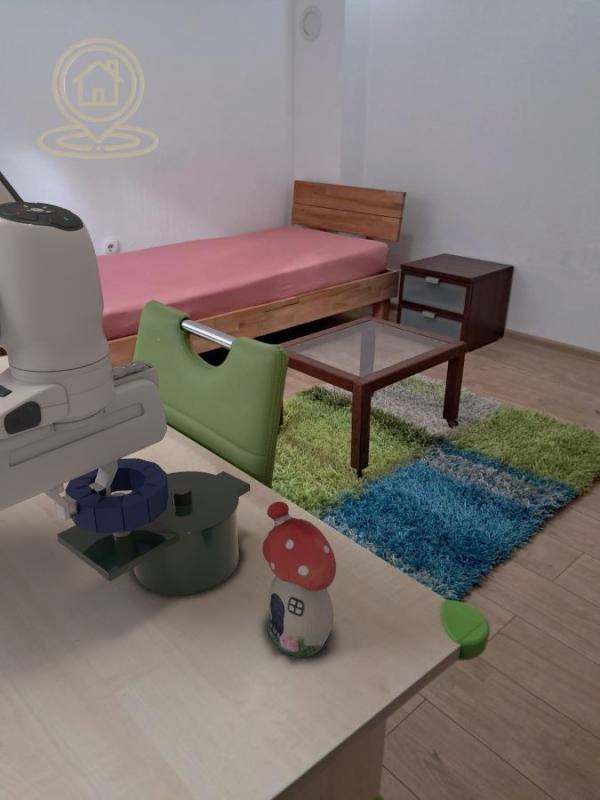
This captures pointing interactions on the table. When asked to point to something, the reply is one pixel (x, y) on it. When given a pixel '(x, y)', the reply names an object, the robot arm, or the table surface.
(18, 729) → the table surface
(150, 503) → the tape roll
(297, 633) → the decorative ornament
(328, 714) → the table surface
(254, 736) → the table surface
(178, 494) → the pot
